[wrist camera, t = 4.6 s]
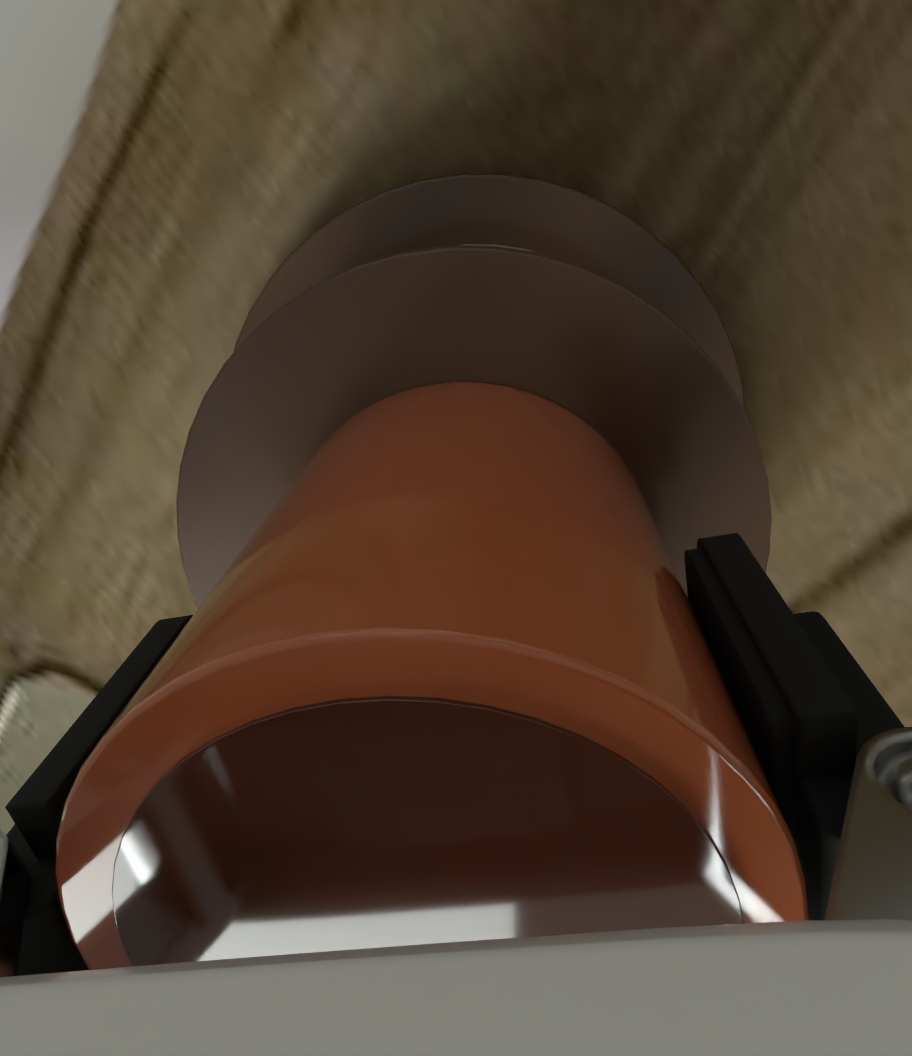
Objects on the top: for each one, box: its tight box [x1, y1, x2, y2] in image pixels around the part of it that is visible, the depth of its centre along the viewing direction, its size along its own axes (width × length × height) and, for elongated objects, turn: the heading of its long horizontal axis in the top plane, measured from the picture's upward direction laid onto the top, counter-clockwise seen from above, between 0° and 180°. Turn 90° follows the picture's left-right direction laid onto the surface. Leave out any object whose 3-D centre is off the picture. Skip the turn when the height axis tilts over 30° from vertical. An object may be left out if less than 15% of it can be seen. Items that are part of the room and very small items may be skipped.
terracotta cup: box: [55, 382, 809, 970], centre depth 11 cm, size 7×7×8 cm
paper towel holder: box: [177, 174, 771, 608], centre depth 17 cm, size 14×14×7 cm
